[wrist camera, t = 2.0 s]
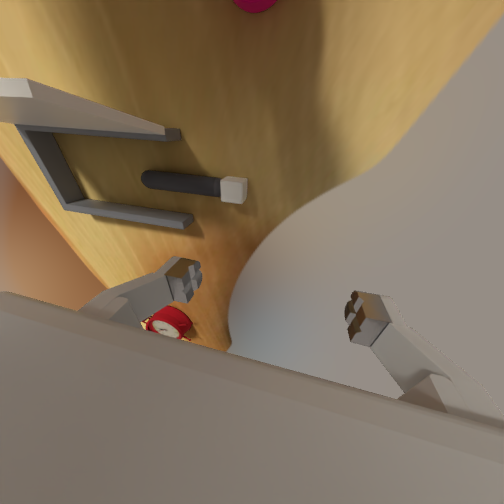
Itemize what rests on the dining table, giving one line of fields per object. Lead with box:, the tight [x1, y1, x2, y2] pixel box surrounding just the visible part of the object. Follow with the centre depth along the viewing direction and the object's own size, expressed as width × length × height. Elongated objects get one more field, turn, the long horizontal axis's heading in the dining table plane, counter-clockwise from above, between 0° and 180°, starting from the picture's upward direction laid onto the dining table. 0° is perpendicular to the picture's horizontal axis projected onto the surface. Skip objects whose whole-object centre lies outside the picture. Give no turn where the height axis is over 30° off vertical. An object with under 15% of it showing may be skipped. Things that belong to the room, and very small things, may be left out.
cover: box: [0, 78, 165, 135], centre depth 16 cm, size 11×22×1 cm
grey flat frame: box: [14, 124, 193, 229], centre depth 26 cm, size 12×22×3 cm, turn 87°
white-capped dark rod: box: [141, 170, 248, 204], centre depth 24 cm, size 15×3×3 cm, turn 87°
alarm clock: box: [142, 306, 193, 341], centre depth 46 cm, size 10×6×15 cm
